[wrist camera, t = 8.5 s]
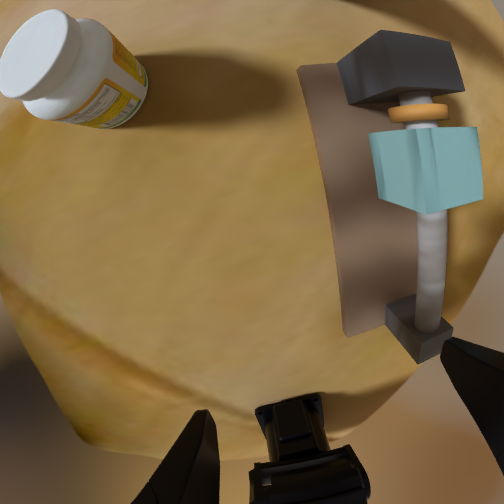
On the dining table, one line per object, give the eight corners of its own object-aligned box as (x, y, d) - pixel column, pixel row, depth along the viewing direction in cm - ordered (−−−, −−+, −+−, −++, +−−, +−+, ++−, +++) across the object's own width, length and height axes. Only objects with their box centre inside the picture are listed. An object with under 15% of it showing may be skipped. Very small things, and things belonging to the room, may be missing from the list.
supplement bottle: (135, 135, 16) (50, 120, 7) (71, 124, 15) (-26, 116, 6) (161, 60, 14) (106, -11, 5) (95, 55, 13) (17, 6, 4)
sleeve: (434, 186, 15) (483, 199, 11) (378, 198, 16) (426, 214, 11) (426, 128, 14) (476, 127, 10) (367, 133, 14) (415, 128, 10)
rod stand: (436, 295, 22) (482, 334, 15) (343, 330, 22) (377, 388, 15) (414, 68, 15) (474, 49, 8) (296, 70, 15) (332, 27, 8)
